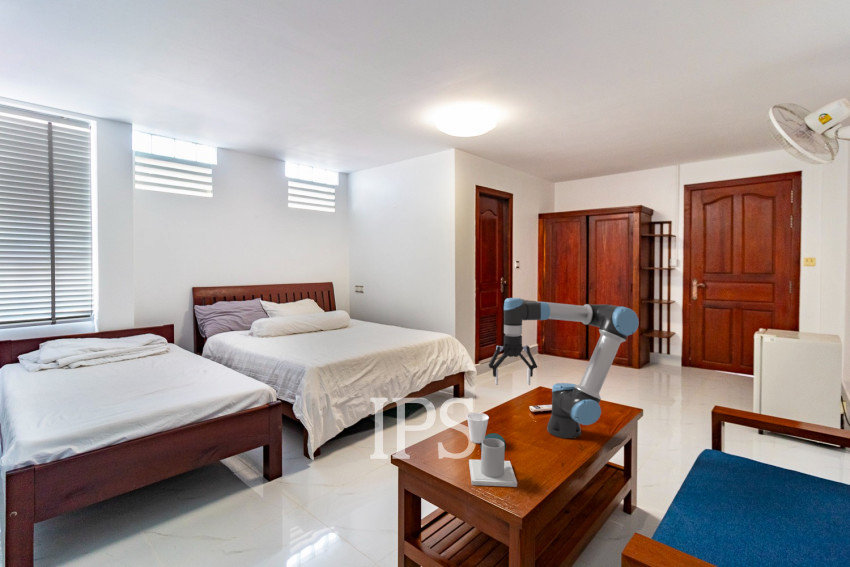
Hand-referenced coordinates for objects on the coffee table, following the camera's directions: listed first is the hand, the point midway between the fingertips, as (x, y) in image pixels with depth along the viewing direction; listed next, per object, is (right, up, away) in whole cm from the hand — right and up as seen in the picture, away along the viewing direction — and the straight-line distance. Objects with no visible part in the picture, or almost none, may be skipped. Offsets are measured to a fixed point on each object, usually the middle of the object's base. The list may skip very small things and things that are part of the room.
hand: (512, 384), depth 173 cm
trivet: (-12, -29, -21) cm, 37 cm away
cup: (-14, -28, +8) cm, 32 cm away
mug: (-11, -27, -21) cm, 36 cm away
